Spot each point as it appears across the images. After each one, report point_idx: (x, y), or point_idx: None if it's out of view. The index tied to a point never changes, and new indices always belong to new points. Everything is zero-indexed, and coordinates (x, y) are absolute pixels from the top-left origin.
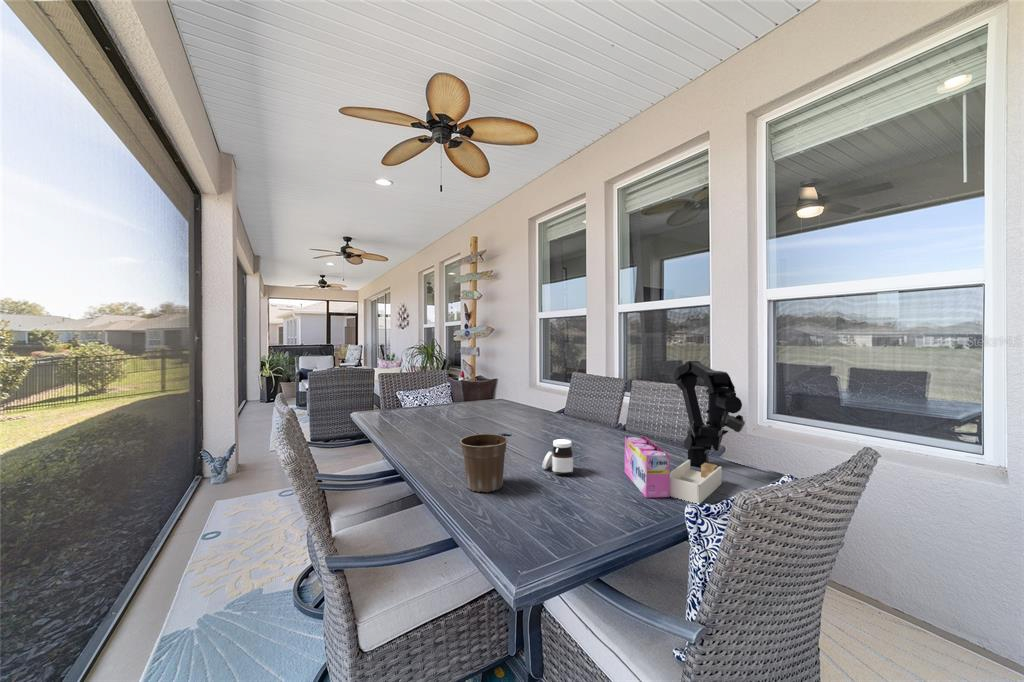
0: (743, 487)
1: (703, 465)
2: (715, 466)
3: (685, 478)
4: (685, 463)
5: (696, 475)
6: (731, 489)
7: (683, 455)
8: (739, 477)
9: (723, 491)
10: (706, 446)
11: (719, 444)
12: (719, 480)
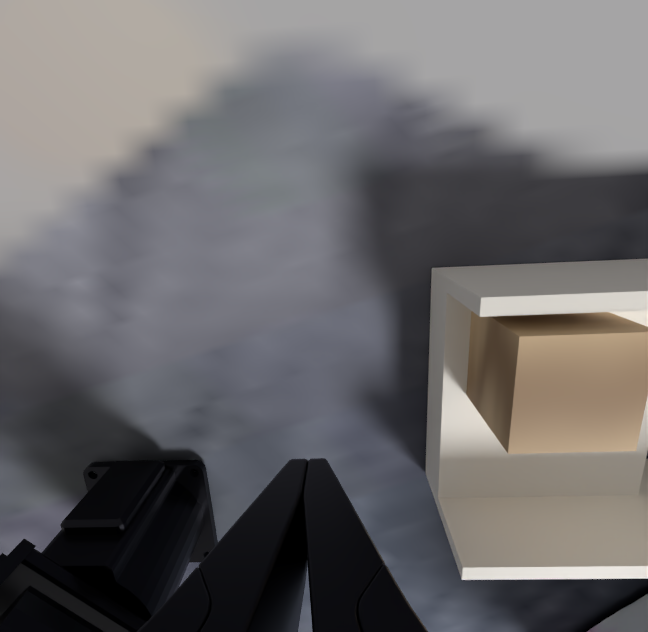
0: (394, 115)
1: (622, 434)
2: (584, 335)
3: (639, 460)
4: (590, 564)
5: None
6: (500, 173)
7: None
8: (189, 213)
9: (581, 205)
10: (53, 602)
11: (292, 525)
12: (499, 271)
